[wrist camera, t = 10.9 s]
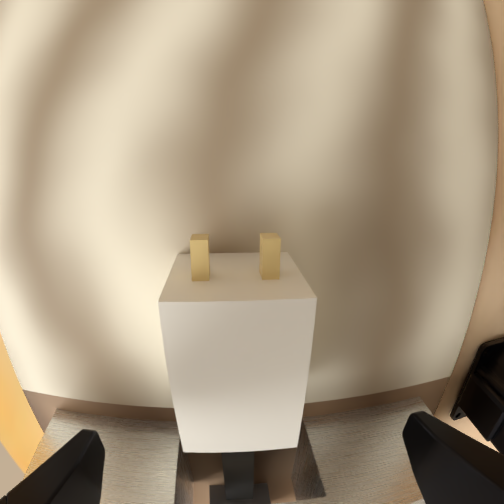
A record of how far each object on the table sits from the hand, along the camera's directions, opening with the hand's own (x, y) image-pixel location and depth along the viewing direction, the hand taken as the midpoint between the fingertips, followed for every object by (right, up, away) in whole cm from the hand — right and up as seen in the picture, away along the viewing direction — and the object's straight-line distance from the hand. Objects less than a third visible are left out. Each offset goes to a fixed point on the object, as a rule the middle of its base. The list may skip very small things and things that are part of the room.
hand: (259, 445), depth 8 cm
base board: (-1, -5, +8) cm, 10 cm away
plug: (-1, -3, +7) cm, 8 cm away
